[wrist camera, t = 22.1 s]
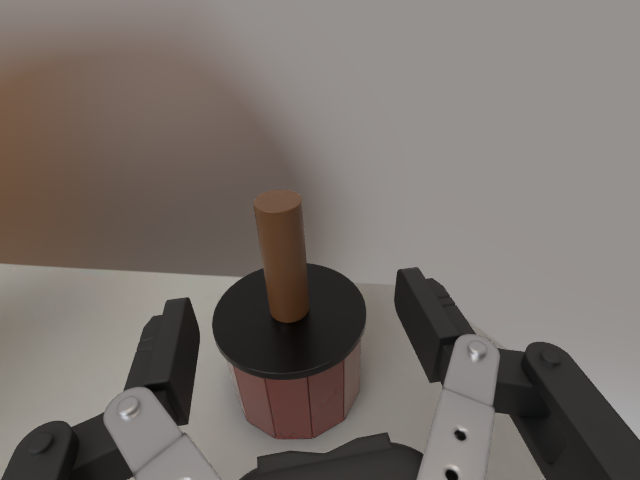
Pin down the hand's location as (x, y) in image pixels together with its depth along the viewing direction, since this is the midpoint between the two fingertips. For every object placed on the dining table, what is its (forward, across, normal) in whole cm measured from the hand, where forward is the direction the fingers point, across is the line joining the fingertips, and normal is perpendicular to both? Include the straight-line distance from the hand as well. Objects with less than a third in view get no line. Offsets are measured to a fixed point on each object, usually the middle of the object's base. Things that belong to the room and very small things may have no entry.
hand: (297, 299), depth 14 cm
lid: (+7, 0, +8) cm, 11 cm away
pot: (+7, 0, +15) cm, 16 cm away
